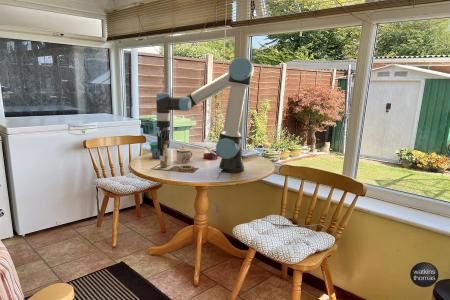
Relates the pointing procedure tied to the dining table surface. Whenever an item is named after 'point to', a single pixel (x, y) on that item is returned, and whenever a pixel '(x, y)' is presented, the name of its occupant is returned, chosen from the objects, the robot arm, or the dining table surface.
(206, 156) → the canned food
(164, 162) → the carved statue
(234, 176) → the dining table surface
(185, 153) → the teacup with lid
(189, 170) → the board
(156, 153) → the snack cup
